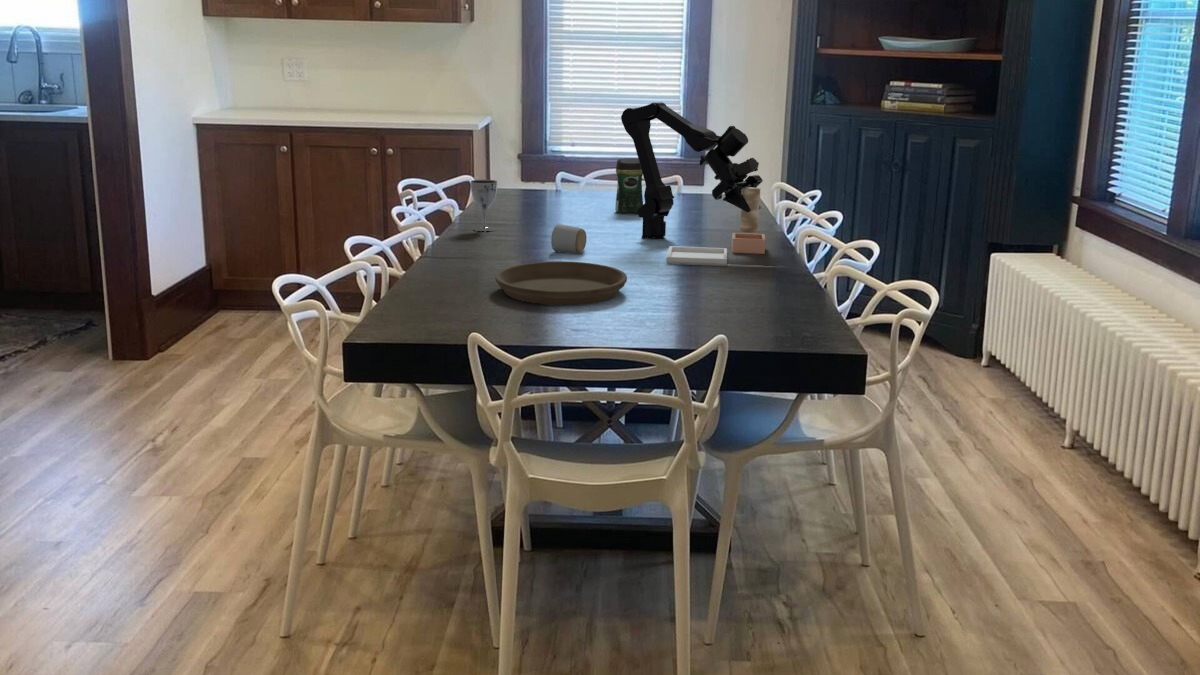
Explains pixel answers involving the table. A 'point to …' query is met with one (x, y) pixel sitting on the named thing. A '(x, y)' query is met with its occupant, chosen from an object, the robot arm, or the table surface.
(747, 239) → the cup holder
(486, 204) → the wine glass
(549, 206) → the table surface
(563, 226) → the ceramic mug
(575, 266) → the plant saucer
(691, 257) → the grey tray
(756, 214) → the beech cylinder
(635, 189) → the coffee jar
